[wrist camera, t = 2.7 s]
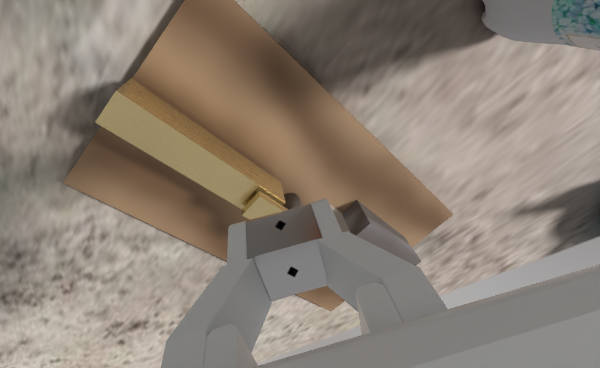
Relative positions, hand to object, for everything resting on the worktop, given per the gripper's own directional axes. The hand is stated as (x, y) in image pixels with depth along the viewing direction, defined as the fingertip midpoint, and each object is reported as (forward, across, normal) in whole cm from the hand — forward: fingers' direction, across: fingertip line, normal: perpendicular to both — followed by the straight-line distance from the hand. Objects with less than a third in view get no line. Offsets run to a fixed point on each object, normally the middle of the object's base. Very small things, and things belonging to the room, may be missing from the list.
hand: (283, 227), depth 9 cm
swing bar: (+15, +3, +5) cm, 16 cm away
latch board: (+16, 0, +10) cm, 19 cm away
